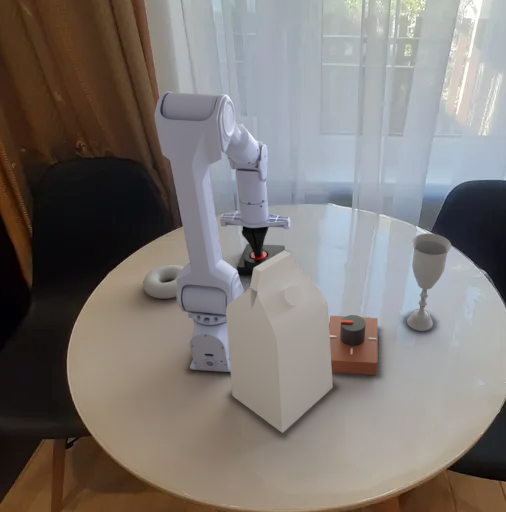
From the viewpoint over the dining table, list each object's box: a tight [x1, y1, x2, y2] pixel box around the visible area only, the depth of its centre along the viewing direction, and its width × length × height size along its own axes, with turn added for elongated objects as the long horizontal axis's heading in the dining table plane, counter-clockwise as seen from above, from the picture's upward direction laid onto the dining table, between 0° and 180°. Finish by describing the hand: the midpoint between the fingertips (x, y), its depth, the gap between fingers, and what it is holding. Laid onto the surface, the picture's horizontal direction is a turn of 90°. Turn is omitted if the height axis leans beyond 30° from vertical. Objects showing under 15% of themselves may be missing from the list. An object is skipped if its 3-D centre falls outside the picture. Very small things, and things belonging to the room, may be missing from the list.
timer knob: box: [340, 314, 366, 346], centre depth 86 cm, size 4×4×4 cm
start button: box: [250, 251, 267, 260], centre depth 108 cm, size 4×4×2 cm
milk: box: [226, 249, 333, 434], centre depth 73 cm, size 12×12×26 cm
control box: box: [236, 243, 286, 277], centre depth 110 cm, size 11×9×4 cm
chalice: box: [406, 233, 452, 332], centre depth 90 cm, size 7×7×18 cm
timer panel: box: [329, 315, 379, 376], centre depth 88 cm, size 12×9×3 cm
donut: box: [142, 264, 184, 300], centre depth 103 cm, size 10×3×10 cm
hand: (258, 254), depth 108 cm, fingers closed, pressing on start button
